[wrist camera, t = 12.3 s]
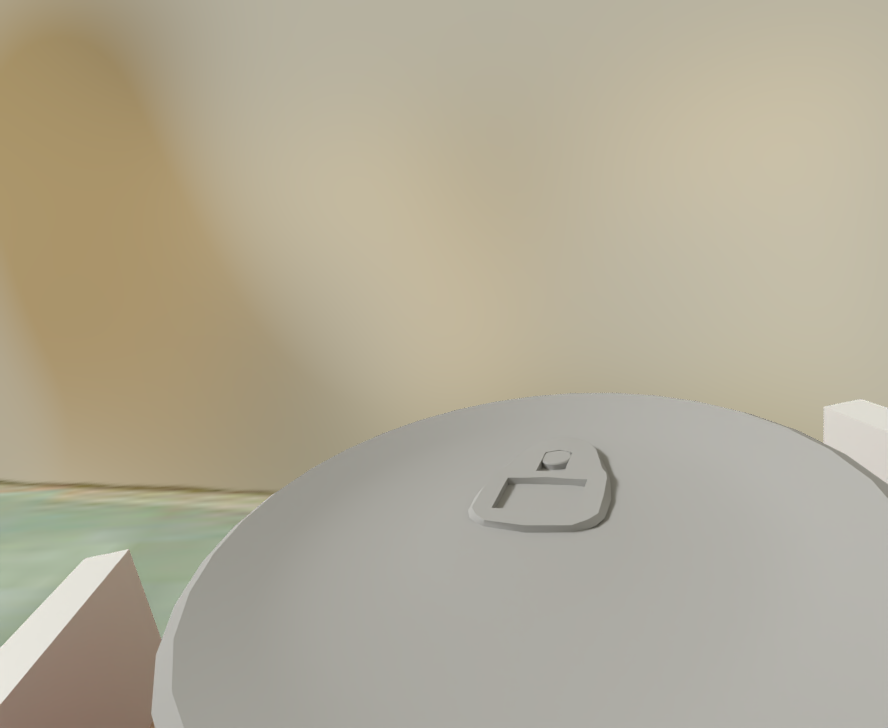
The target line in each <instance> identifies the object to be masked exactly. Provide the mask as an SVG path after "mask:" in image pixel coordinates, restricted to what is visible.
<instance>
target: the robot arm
mask: <svg viewBox="0 0 888 728" xmlns="http://www.w3.org/2000/svg"><path fill="white" fill-rule="evenodd" d="M824 444H826V445H828V446H830V447H832V448H834V449H836V450H838V451H840V452H842V453H844V454H846V455H848V456H849V457H850V458H852V459H853V460H855V461H856V462H857V463H859V464H860V465H862V466H863V467H864V468H866V469H867V470H869V471H870V472H872V473H873V474H874V475H876V476H877V477H879V478H880V479H881V480H883V481H884V482H886V483H887V484H888V408H886V407H883V406H880V405H878V404H874V403H871V402H868V401H866V400H863V399H859V400H854V401H849V402H844V403H839V404H834V405H830V406H825V407H824ZM160 643H161V637H160V634H159V632H158V629H157V626H156V623H155V620H154V618H153V615H152V612H151V609H150V607H149V604H148V601H147V598H146V595H145V593H144V590H143V587H142V584H141V582H140V579H139V576H138V573H137V570H136V568H135V565H134V562H133V559H132V557H131V554H130V551H129V549H128V550H123V551H118V552H113V553H108V554H104V555H99V556H94V557H89V558H85V559H84V560H83V561H82V562H81V563H80V564H79V565H78V566H77V567H76V568H75V569H74V570H73V571H72V572H71V573H70V575H69V576H68V577H67V578H66V579H65V580H64V581H63V582H62V583H61V584H60V585H59V586H58V587H57V588H56V589H55V590H54V591H53V593H52V594H51V595H50V596H49V597H48V598H47V599H46V600H45V601H44V602H43V603H42V604H41V605H40V606H39V607H38V608H37V610H36V611H35V612H34V613H33V614H32V615H31V616H30V617H29V618H28V619H27V620H26V621H25V622H24V623H23V624H22V625H21V627H20V628H19V629H18V630H17V631H16V632H15V633H14V634H13V635H12V636H11V637H10V638H9V639H8V640H7V641H6V642H5V644H4V645H3V646H2V647H1V648H0V728H150V725H151V723H152V721H153V718H152V714H151V710H152V698H153V685H154V673H155V661H156V653H157V651H158V648H159V645H160Z"/></svg>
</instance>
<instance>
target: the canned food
mask: <svg viewBox="0 0 888 728" xmlns="http://www.w3.org/2000/svg"><path fill="white" fill-rule="evenodd" d="M151 714H152V718H153V722H154V726H155V728H888V484H887V483H886V482H884V481H883V480H881V479H880V478H879V477H877V476H876V475H874V474H873V473H872V472H870V471H869V470H867V469H866V468H864V467H863V466H862V465H860V464H859V463H857V462H856V461H855V460H853V459H852V458H850V457H849V456H848V455H846V454H844V453H842V452H840V451H838V450H836V449H834V448H832V447H830V446H828V445H826V444H824V443H822V442H820V441H818V440H816V439H814V438H812V437H810V436H808V435H806V434H804V433H802V432H800V431H798V430H795V429H792V428H789V427H786V426H783V425H781V424H778V423H775V422H772V421H769V420H766V419H763V418H760V417H757V416H755V415H752V414H748V413H744V412H740V411H736V410H731V409H727V408H723V407H719V406H714V405H710V404H706V403H701V402H697V401H690V400H683V399H675V398H669V397H662V396H654V395H638V394H622V393H570V394H558V395H545V396H533V397H526V398H519V399H512V400H505V401H498V402H492V403H488V404H483V405H478V406H473V407H468V408H464V409H459V410H455V411H451V412H448V413H444V414H441V415H437V416H434V417H430V418H426V419H423V420H420V421H417V422H414V423H411V424H408V425H405V426H402V427H400V428H397V429H394V430H391V431H388V432H386V433H383V434H381V435H378V436H376V437H374V438H372V439H369V440H367V441H365V442H363V443H361V444H358V445H356V446H353V447H351V448H349V449H347V450H345V451H343V452H341V453H339V454H338V455H336V456H334V457H332V458H331V459H329V460H326V461H325V462H323V463H321V464H319V465H317V466H315V467H314V468H312V469H310V470H309V471H307V472H306V473H304V474H303V475H301V476H300V477H298V478H297V479H295V480H294V481H292V482H291V483H289V484H288V485H286V486H285V487H283V488H282V489H280V490H279V491H277V492H276V493H275V494H273V495H272V496H270V497H269V498H268V499H266V500H265V501H264V502H263V503H262V504H260V505H259V506H258V507H257V508H256V509H254V510H253V511H252V512H251V513H250V514H249V515H247V516H246V517H245V518H244V519H243V520H241V521H240V522H239V523H238V524H237V525H236V526H234V527H233V529H232V530H231V531H230V532H229V533H228V534H227V535H226V536H225V537H224V538H223V540H222V541H221V542H220V543H219V544H218V545H217V546H216V547H215V548H214V549H213V551H212V552H211V553H210V554H209V555H208V556H207V557H206V558H205V559H204V560H203V562H202V563H201V564H200V566H199V568H198V569H197V571H196V572H195V574H194V575H193V577H192V578H191V580H190V582H189V583H188V585H187V586H186V588H185V589H184V591H183V592H182V594H181V596H180V597H179V599H178V600H177V602H176V603H175V605H174V608H173V611H172V613H171V616H170V619H169V621H168V624H167V627H166V629H165V632H164V635H163V637H162V640H161V643H160V645H159V648H158V651H157V653H156V661H155V673H154V685H153V698H152V710H151Z"/></svg>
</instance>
